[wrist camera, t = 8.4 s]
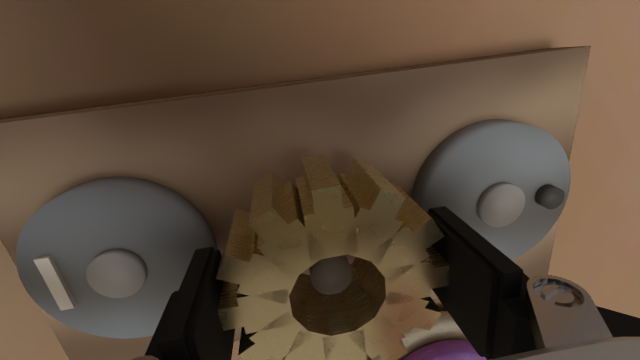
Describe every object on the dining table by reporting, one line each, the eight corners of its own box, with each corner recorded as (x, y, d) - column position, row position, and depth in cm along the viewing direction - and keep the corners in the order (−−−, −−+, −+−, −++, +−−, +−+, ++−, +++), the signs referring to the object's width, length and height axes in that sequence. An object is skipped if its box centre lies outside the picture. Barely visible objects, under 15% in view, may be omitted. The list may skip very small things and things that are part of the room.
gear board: (-13, 121, 13) (-237, 166, 7) (551, 48, 15) (716, 39, 9) (98, 339, 17) (14, 474, 11) (520, 256, 19) (621, 333, 14)
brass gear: (206, 173, 11) (183, 211, 8) (411, 141, 11) (456, 166, 9) (248, 333, 13) (242, 403, 11) (412, 299, 14) (447, 357, 11)
